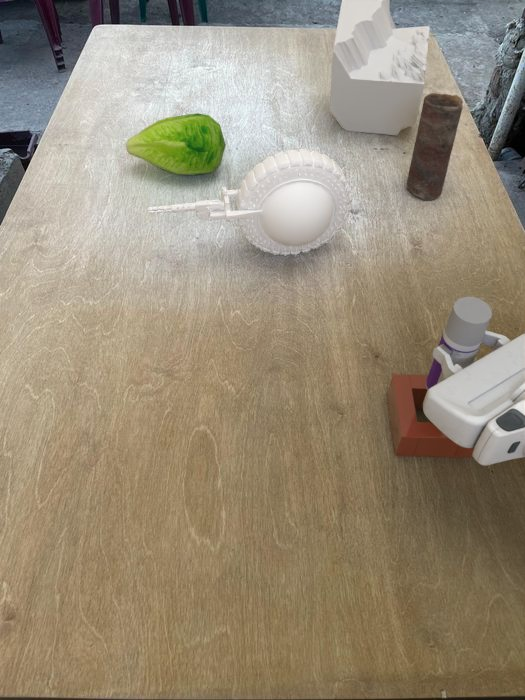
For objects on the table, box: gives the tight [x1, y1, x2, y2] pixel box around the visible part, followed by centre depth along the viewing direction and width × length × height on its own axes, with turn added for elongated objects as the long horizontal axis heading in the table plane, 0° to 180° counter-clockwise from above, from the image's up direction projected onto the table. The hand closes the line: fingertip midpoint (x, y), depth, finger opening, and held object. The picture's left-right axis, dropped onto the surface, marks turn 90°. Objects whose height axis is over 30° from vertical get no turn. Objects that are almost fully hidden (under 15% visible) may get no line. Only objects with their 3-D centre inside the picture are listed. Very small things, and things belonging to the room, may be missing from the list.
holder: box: [386, 373, 474, 458], centre depth 90 cm, size 11×11×5 cm
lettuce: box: [125, 112, 226, 176], centre depth 128 cm, size 14×20×12 cm
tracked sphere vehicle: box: [147, 148, 353, 257], centre depth 108 cm, size 35×14×20 cm, turn 100°
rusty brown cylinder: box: [406, 92, 464, 202], centre depth 121 cm, size 8×7×20 cm
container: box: [426, 296, 493, 391], centre depth 79 cm, size 5×5×15 cm
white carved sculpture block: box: [328, 0, 431, 136], centre depth 137 cm, size 20×16×25 cm
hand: (454, 339), depth 78 cm, fingers closed on container, 4 cm apart
